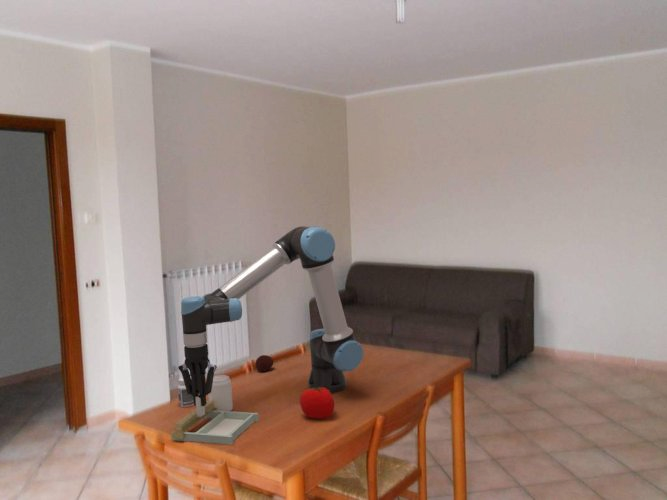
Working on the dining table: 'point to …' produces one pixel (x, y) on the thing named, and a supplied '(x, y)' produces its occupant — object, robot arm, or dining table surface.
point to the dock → (221, 427)
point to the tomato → (317, 403)
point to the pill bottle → (184, 395)
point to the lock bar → (190, 420)
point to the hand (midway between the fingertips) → (200, 415)
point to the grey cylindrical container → (221, 393)
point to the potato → (264, 363)
